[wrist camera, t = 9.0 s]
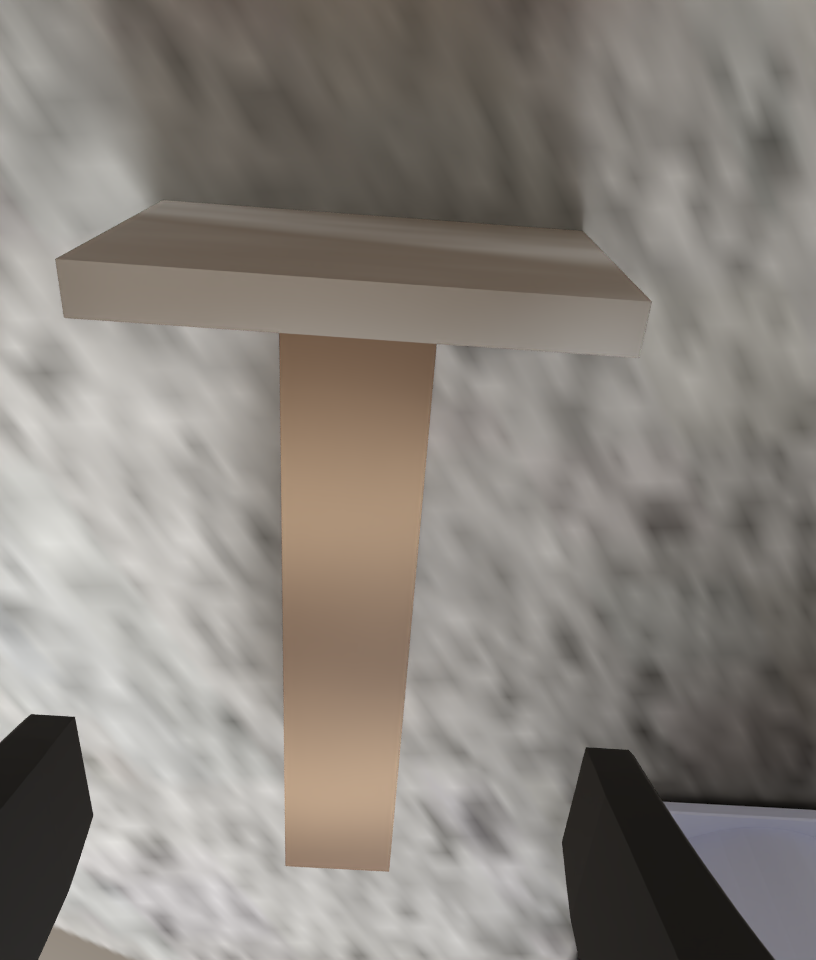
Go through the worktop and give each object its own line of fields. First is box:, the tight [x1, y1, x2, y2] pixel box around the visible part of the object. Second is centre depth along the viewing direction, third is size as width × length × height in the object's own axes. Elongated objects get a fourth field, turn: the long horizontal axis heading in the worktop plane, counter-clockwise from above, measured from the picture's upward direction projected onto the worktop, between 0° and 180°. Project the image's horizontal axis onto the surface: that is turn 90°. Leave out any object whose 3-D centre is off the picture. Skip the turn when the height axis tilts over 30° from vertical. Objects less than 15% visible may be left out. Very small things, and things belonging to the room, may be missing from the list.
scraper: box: [55, 200, 652, 872], centre depth 16 cm, size 14×8×5 cm, turn 176°
